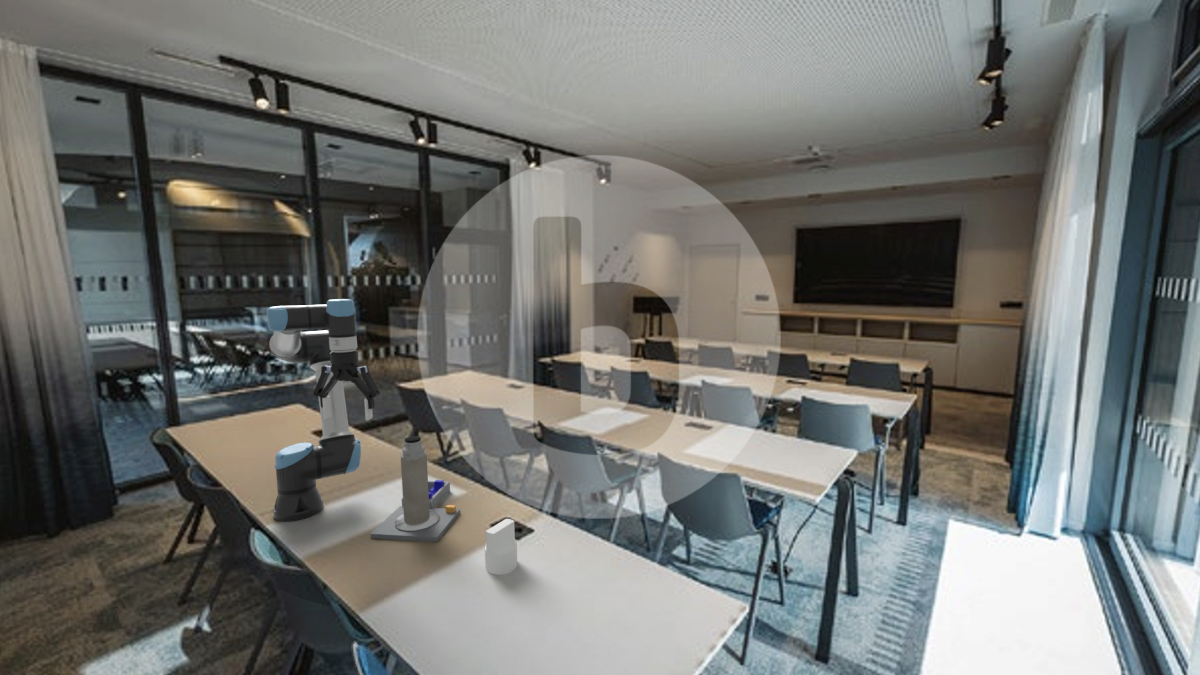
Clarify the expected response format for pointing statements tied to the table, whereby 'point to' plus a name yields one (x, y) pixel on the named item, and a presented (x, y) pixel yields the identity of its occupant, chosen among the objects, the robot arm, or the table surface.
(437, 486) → the blue stepped block
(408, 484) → the thermos bottle
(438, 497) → the desk organizer
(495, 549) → the cylinder with rectangular tab
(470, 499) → the table surface
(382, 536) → the rosette base
